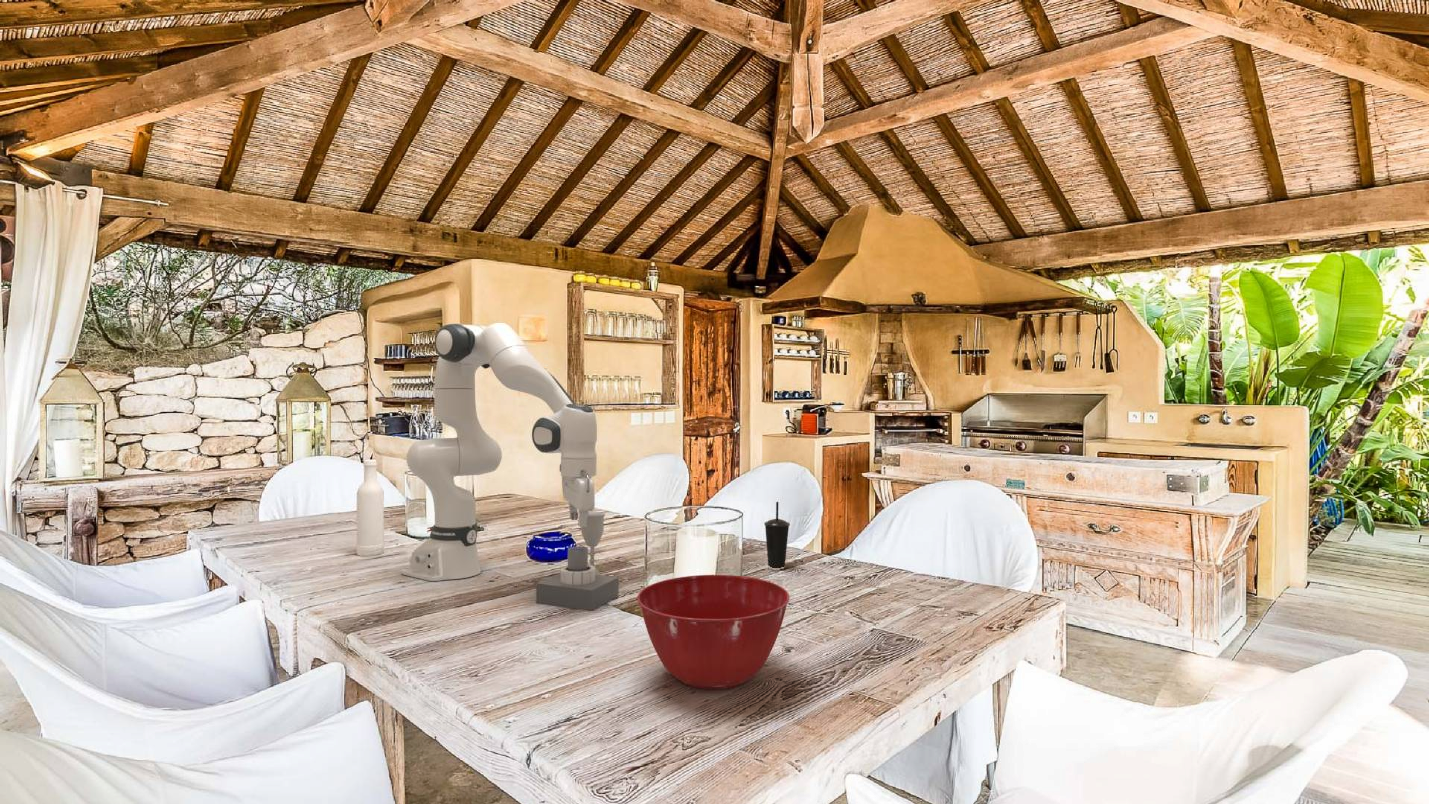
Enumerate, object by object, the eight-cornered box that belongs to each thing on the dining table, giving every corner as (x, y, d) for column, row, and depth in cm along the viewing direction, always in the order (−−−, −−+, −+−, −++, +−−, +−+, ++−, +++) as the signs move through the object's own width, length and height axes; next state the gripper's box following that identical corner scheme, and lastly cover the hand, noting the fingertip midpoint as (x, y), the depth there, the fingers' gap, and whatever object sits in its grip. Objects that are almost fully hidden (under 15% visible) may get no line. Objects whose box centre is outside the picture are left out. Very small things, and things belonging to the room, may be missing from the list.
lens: (563, 581, 180) (563, 549, 180) (573, 576, 185) (573, 545, 185) (582, 583, 179) (582, 551, 179) (591, 578, 184) (591, 547, 184)
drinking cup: (790, 571, 212) (791, 504, 212) (764, 571, 212) (765, 503, 212) (788, 565, 220) (788, 500, 219) (763, 565, 220) (763, 499, 219)
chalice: (607, 575, 207) (608, 512, 206) (601, 581, 200) (602, 516, 200) (582, 574, 207) (583, 511, 207) (576, 580, 201) (576, 515, 200)
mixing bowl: (667, 720, 117) (668, 625, 116) (618, 659, 143) (618, 581, 142) (817, 692, 128) (818, 606, 128) (746, 640, 154) (747, 568, 154)
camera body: (536, 603, 179) (536, 571, 179) (565, 589, 191) (565, 559, 191) (591, 611, 173) (592, 577, 173) (618, 596, 185) (618, 565, 185)
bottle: (350, 555, 227) (350, 460, 226) (366, 550, 235) (366, 458, 234) (373, 557, 226) (373, 461, 225) (389, 551, 234) (389, 459, 233)
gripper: (601, 473, 173) (600, 530, 174) (581, 463, 192) (581, 515, 192) (575, 474, 171) (574, 532, 171) (558, 464, 189) (557, 516, 190)
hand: (578, 523), depth 182 cm, fingers open, 8 cm apart
